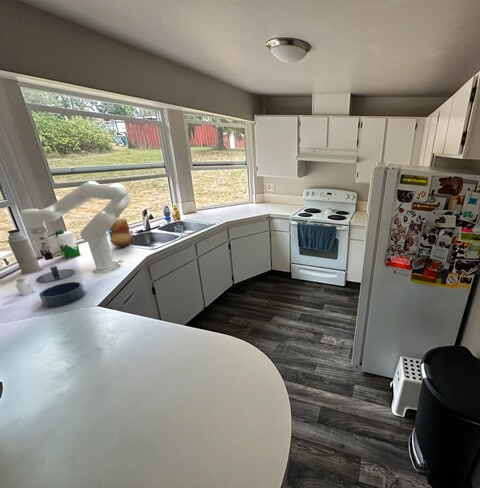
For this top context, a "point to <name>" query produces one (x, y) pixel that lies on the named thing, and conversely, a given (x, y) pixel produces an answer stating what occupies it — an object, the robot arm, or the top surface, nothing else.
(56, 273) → the lid
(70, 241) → the milk carton
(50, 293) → the pot
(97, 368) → the top surface
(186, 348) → the top surface
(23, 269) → the thermos bottle
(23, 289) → the pepper shaker
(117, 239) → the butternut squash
